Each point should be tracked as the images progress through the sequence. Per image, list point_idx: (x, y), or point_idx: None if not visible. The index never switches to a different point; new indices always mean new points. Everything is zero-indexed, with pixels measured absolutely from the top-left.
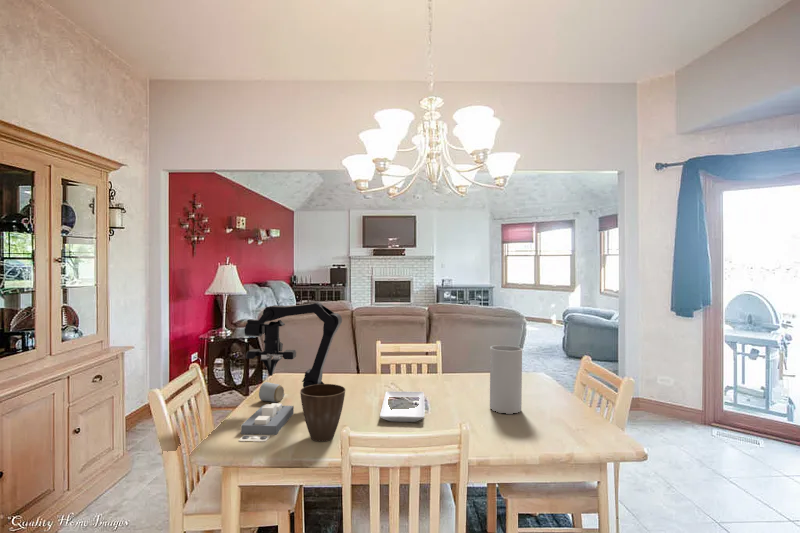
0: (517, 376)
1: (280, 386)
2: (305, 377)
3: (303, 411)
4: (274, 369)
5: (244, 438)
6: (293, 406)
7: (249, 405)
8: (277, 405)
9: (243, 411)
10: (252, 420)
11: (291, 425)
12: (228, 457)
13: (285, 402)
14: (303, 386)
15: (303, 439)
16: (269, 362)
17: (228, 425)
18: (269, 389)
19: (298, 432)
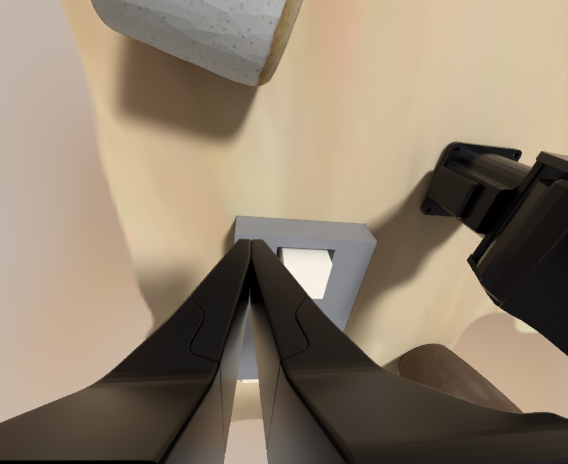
0: None
1: (298, 3)
2: (548, 333)
3: None
4: (290, 274)
5: (252, 379)
6: (375, 243)
7: (110, 96)
8: (314, 287)
9: (135, 195)
10: (249, 356)
11: (356, 311)
12: (249, 417)
13: (319, 42)
14: (482, 286)
15: (382, 366)
16: (218, 451)
17: (163, 316)
18: (205, 53)
19: (374, 342)
